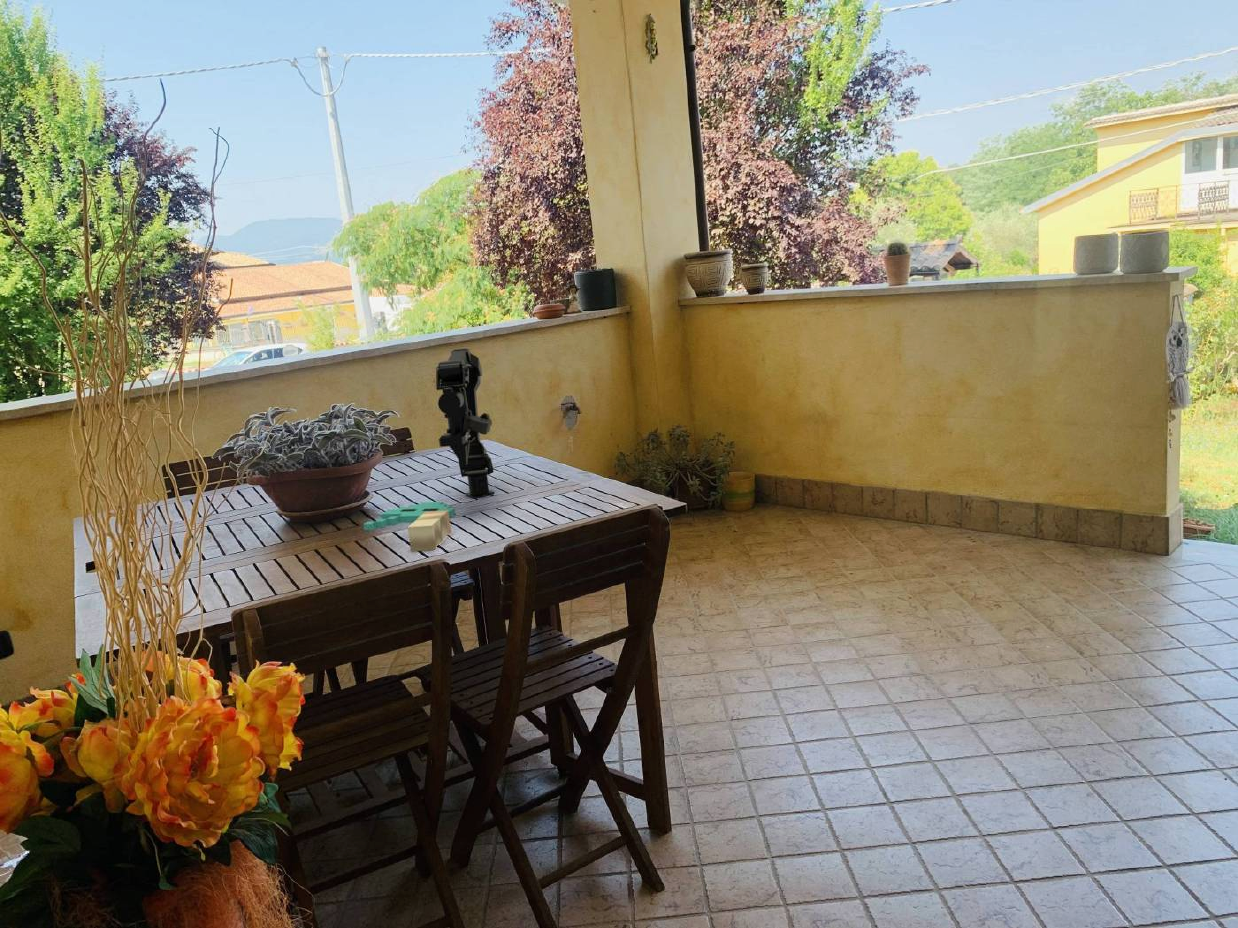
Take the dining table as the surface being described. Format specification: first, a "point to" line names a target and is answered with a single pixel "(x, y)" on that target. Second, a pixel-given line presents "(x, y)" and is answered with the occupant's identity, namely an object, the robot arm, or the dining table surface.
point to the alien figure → (407, 514)
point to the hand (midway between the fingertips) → (464, 465)
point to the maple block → (429, 530)
